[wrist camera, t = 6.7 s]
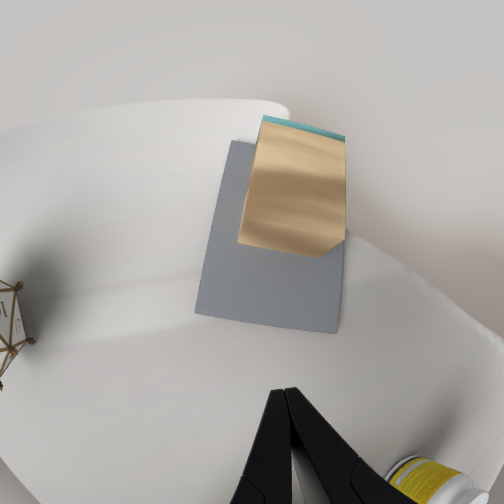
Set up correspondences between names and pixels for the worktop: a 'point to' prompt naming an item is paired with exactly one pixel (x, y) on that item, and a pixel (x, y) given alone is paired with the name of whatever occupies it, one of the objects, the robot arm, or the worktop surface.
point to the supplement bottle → (434, 483)
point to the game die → (10, 326)
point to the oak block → (295, 190)
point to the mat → (263, 268)
